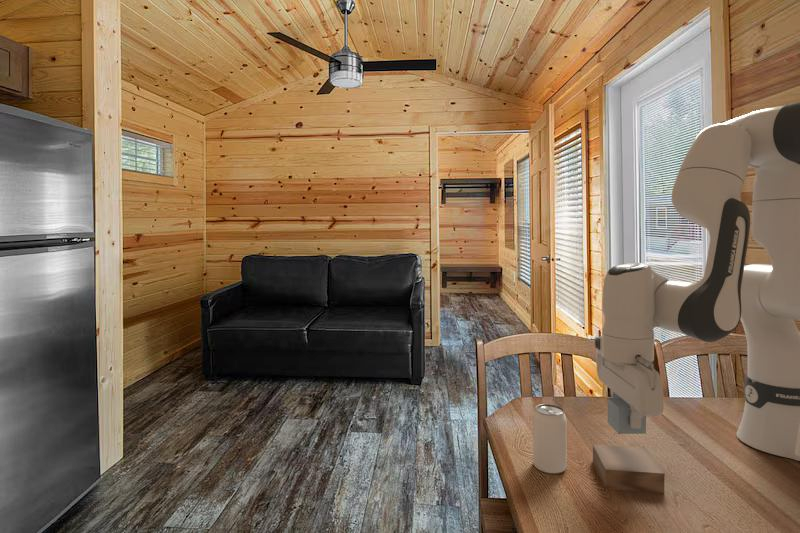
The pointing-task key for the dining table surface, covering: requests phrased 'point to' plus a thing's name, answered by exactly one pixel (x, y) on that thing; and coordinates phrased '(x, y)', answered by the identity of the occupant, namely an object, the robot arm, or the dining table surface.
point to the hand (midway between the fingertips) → (626, 419)
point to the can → (549, 439)
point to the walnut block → (628, 468)
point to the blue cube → (622, 417)
